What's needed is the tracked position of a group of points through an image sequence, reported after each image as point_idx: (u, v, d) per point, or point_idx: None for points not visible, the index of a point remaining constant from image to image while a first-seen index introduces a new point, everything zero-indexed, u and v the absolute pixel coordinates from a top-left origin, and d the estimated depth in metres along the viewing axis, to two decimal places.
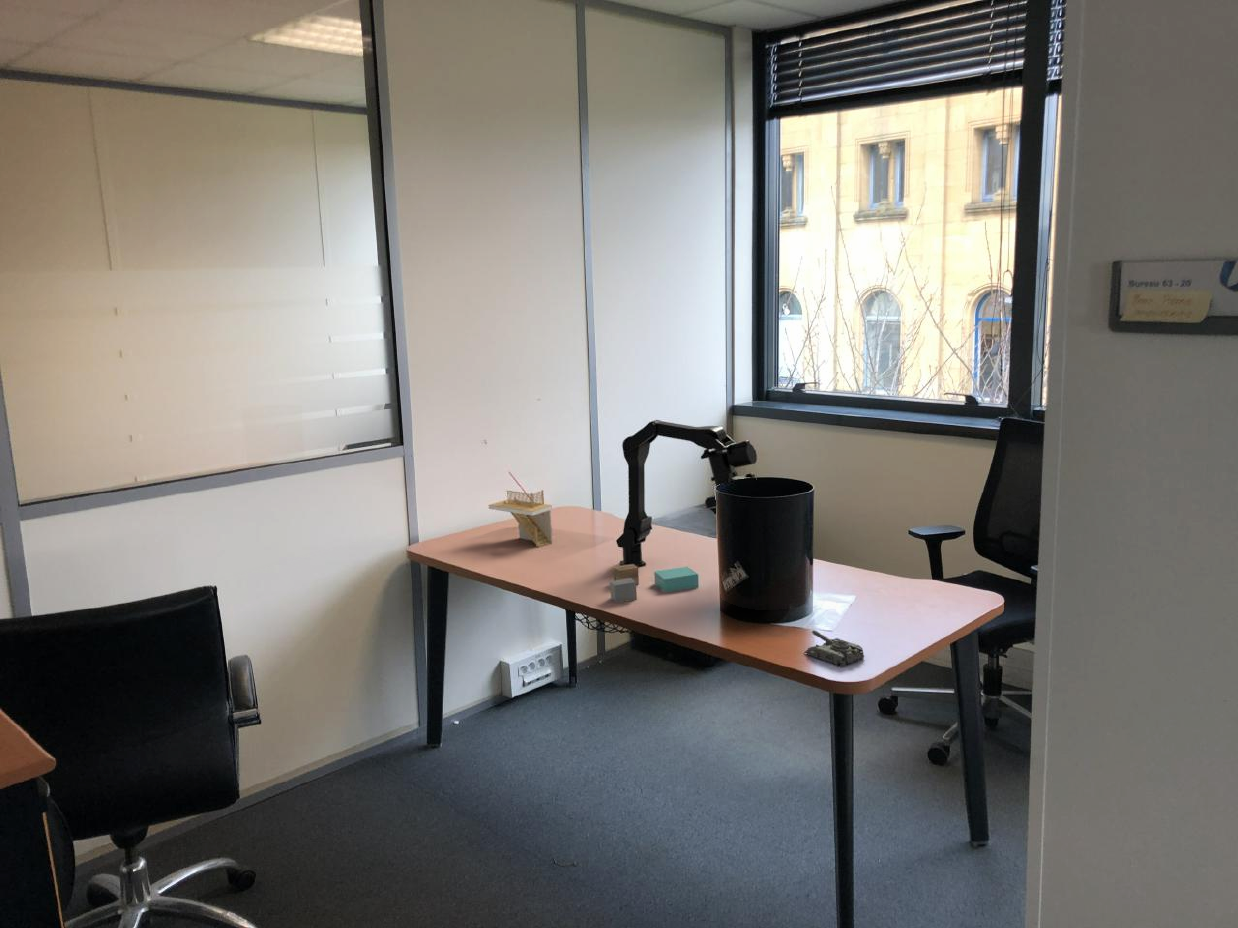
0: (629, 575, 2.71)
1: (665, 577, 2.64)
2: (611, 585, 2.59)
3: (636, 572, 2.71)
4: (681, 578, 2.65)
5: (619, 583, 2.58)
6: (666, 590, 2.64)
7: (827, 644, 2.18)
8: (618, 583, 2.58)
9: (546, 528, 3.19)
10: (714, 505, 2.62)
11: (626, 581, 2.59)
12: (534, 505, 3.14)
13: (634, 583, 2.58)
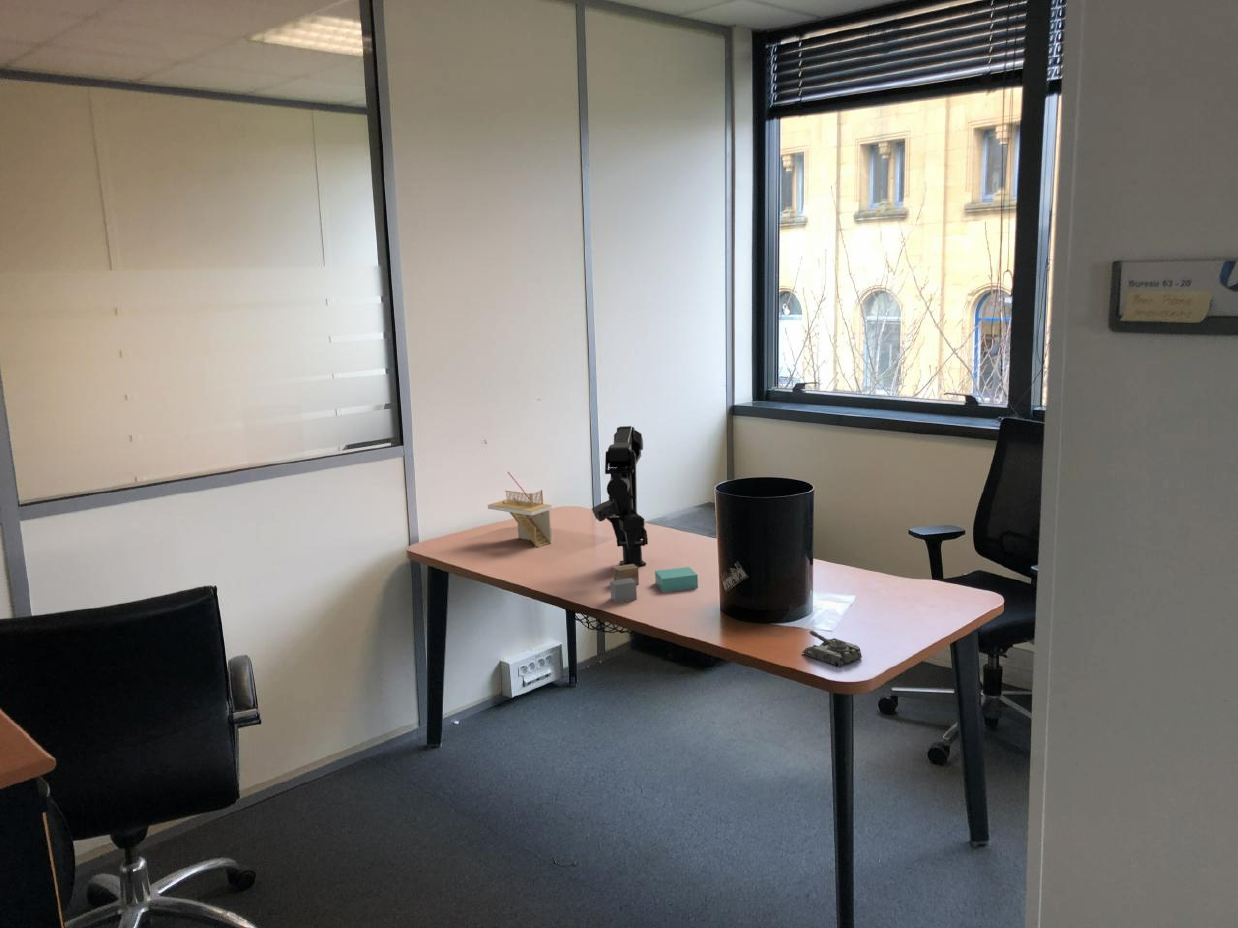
0: (629, 575, 2.71)
1: (664, 577, 2.65)
2: (611, 585, 2.59)
3: (636, 572, 2.71)
4: (680, 578, 2.65)
5: (619, 583, 2.58)
6: (664, 590, 2.64)
7: (824, 644, 2.18)
8: (618, 583, 2.58)
9: (545, 528, 3.19)
10: None
11: (626, 581, 2.59)
12: (533, 505, 3.14)
13: (634, 583, 2.58)
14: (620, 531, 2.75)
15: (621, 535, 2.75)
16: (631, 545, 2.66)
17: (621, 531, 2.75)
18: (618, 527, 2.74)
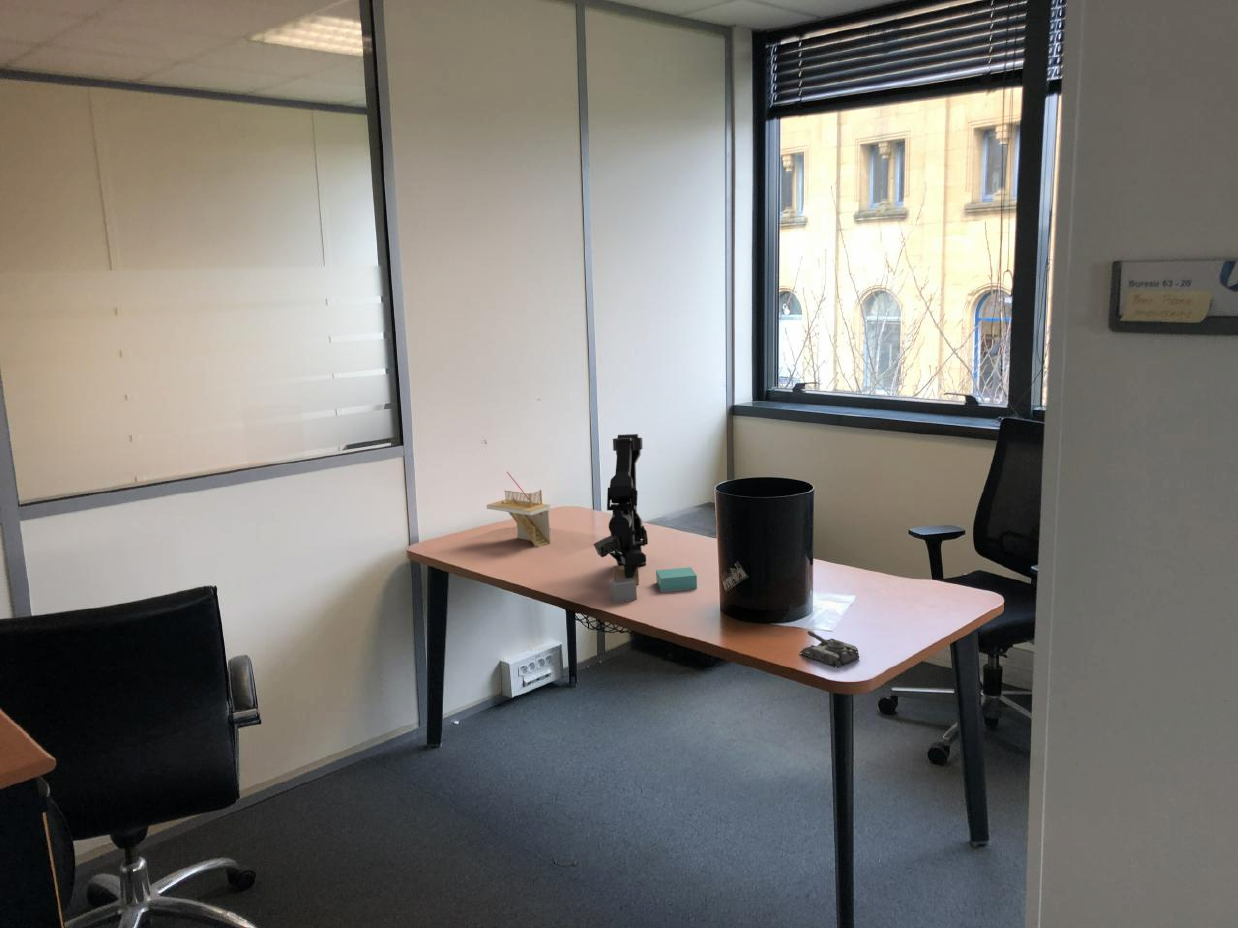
0: None
1: (662, 577, 2.65)
2: (611, 585, 2.59)
3: (636, 572, 2.71)
4: (678, 578, 2.65)
5: (619, 583, 2.58)
6: (662, 589, 2.65)
7: (822, 644, 2.18)
8: (618, 583, 2.58)
9: (544, 528, 3.20)
10: None
11: (626, 581, 2.59)
12: (532, 505, 3.15)
13: (634, 583, 2.58)
14: None
15: None
16: None
17: None
18: None
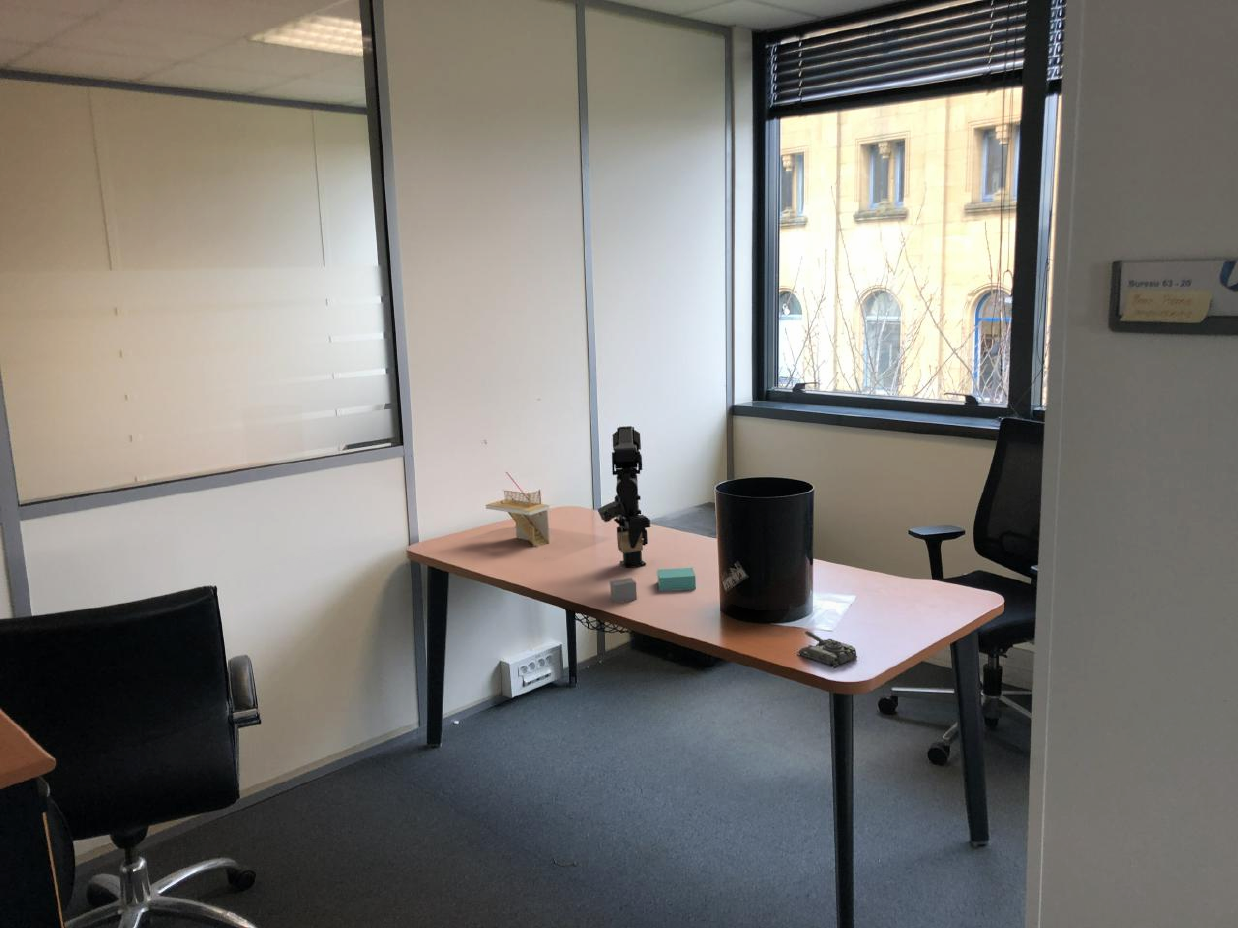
0: None
1: (661, 576, 2.65)
2: (611, 585, 2.59)
3: (640, 537, 2.69)
4: (677, 578, 2.65)
5: (619, 583, 2.58)
6: (661, 589, 2.65)
7: (820, 644, 2.18)
8: (618, 583, 2.58)
9: (543, 528, 3.20)
10: None
11: (626, 581, 2.59)
12: (531, 505, 3.15)
13: (634, 583, 2.58)
14: None
15: None
16: (634, 544, 2.68)
17: None
18: (627, 530, 2.72)
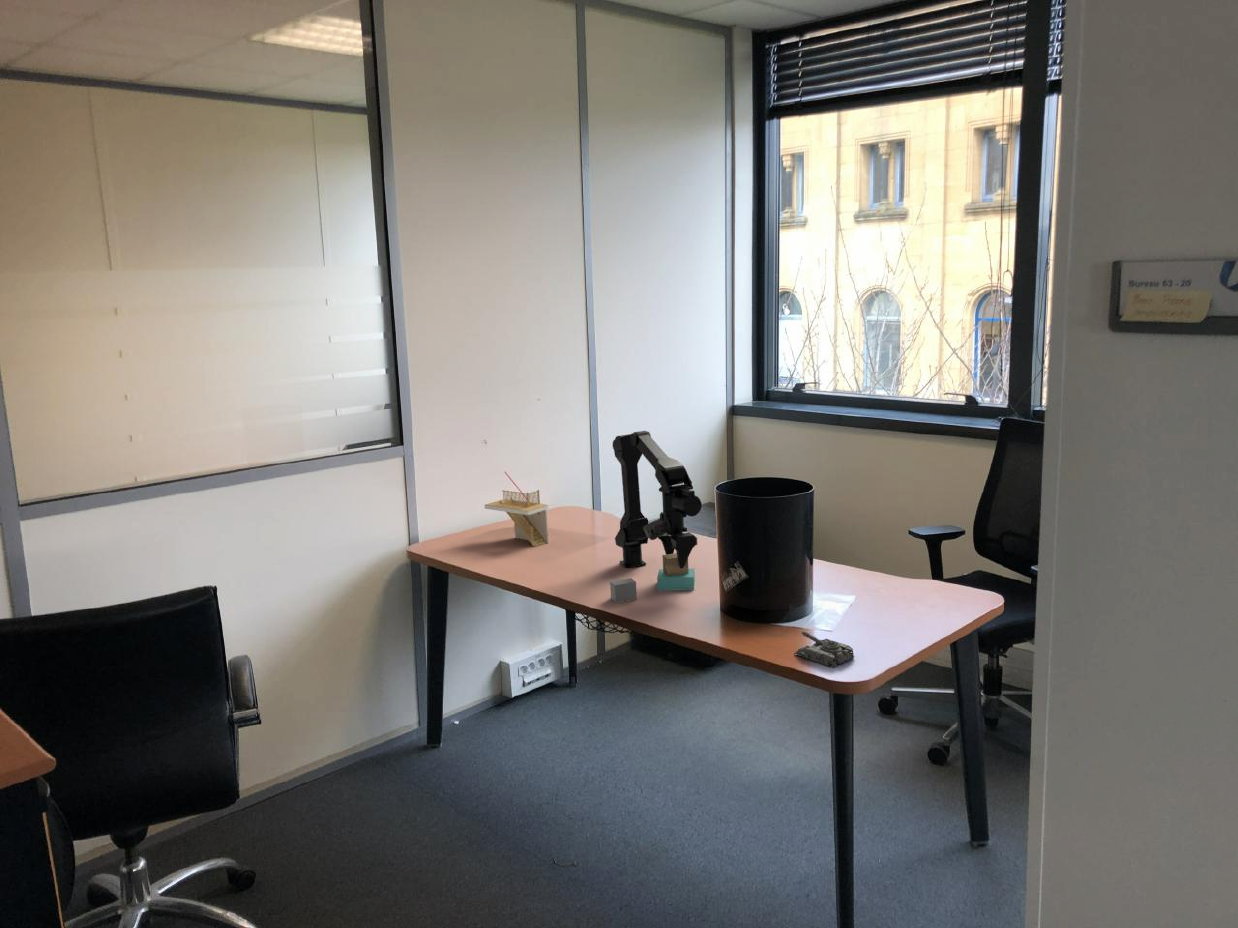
0: None
1: (660, 576, 2.66)
2: (611, 585, 2.59)
3: None
4: (675, 579, 2.65)
5: (619, 583, 2.58)
6: (659, 589, 2.66)
7: (817, 645, 2.18)
8: (618, 583, 2.58)
9: (542, 528, 3.20)
10: None
11: (626, 581, 2.59)
12: (530, 505, 3.15)
13: (634, 583, 2.58)
14: (670, 550, 2.72)
15: None
16: (683, 564, 2.63)
17: (671, 549, 2.72)
18: (669, 545, 2.71)
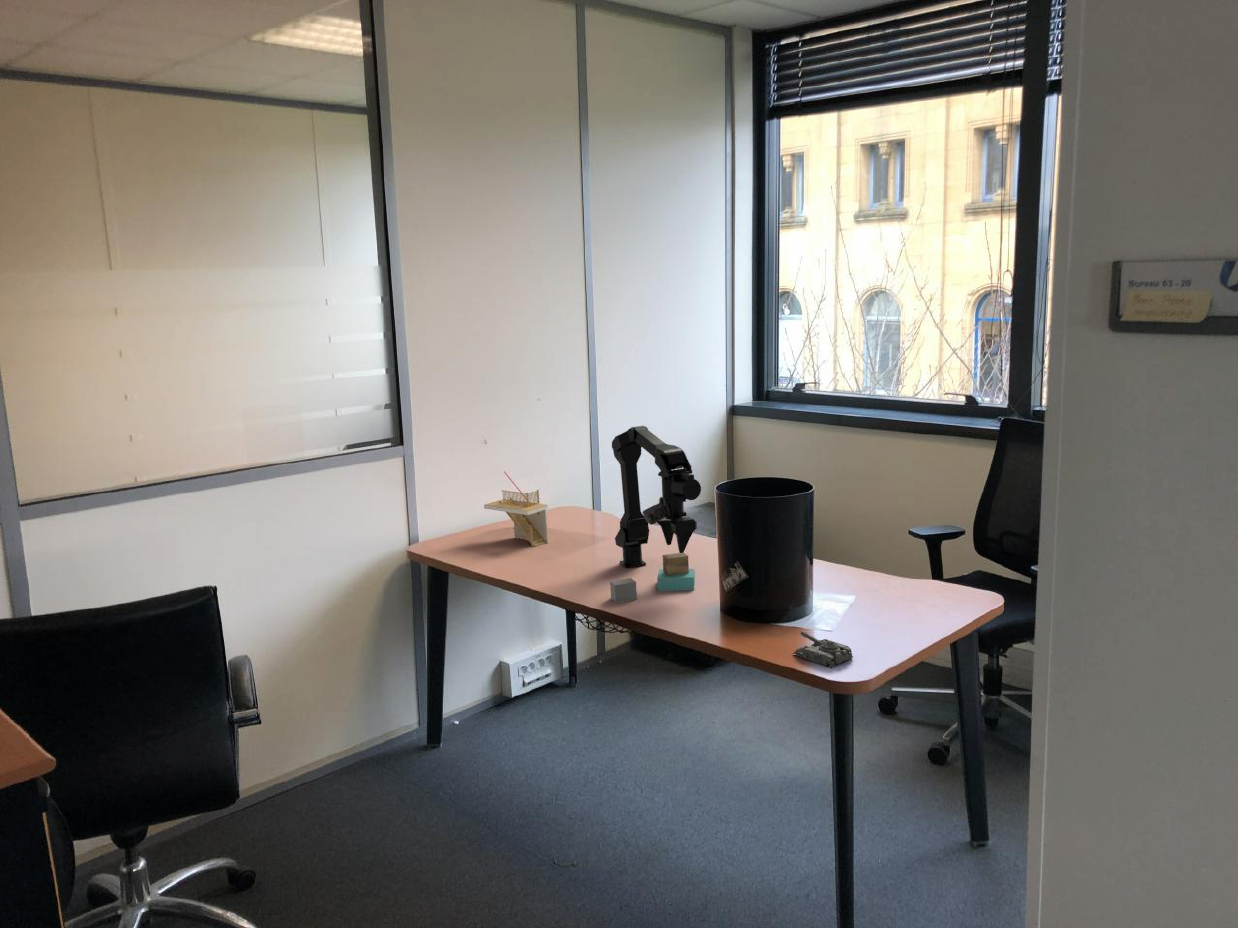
0: (679, 563, 2.66)
1: (660, 576, 2.66)
2: (611, 585, 2.59)
3: (686, 560, 2.67)
4: (675, 579, 2.64)
5: (619, 583, 2.58)
6: (659, 589, 2.65)
7: (815, 645, 2.18)
8: (618, 583, 2.58)
9: (541, 528, 3.20)
10: None
11: (626, 581, 2.59)
12: (529, 505, 3.15)
13: (634, 583, 2.58)
14: (670, 534, 2.71)
15: (671, 538, 2.71)
16: (682, 549, 2.62)
17: (671, 534, 2.71)
18: (668, 530, 2.71)
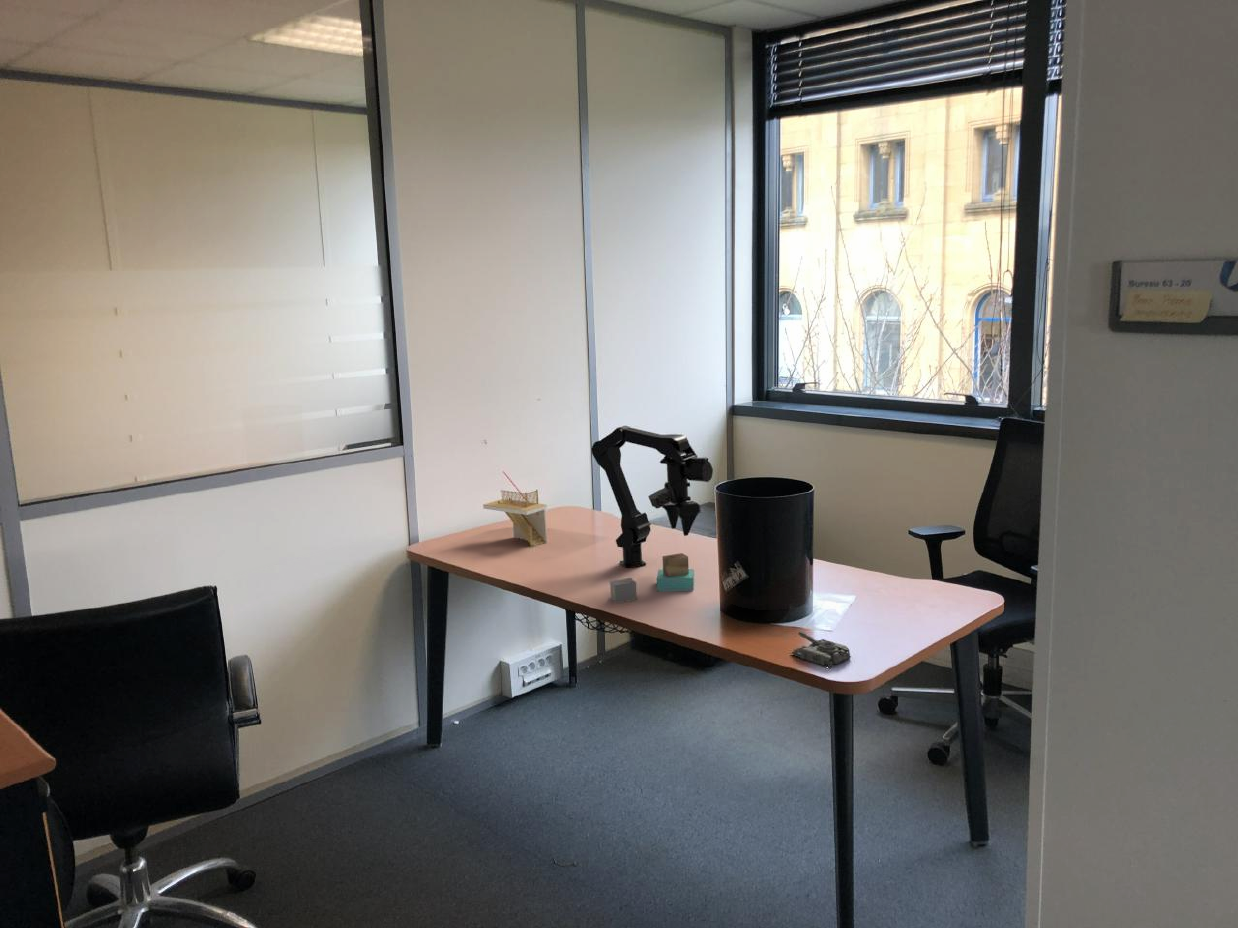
0: (679, 564, 2.66)
1: (659, 577, 2.65)
2: (611, 585, 2.59)
3: (686, 561, 2.66)
4: (674, 579, 2.64)
5: (619, 583, 2.58)
6: (658, 589, 2.65)
7: (813, 645, 2.18)
8: (618, 583, 2.58)
9: (540, 528, 3.20)
10: None
11: (626, 581, 2.59)
12: (528, 504, 3.15)
13: (634, 583, 2.58)
14: (674, 518, 2.83)
15: (675, 522, 2.83)
16: (687, 531, 2.74)
17: (675, 518, 2.83)
18: (672, 514, 2.83)
